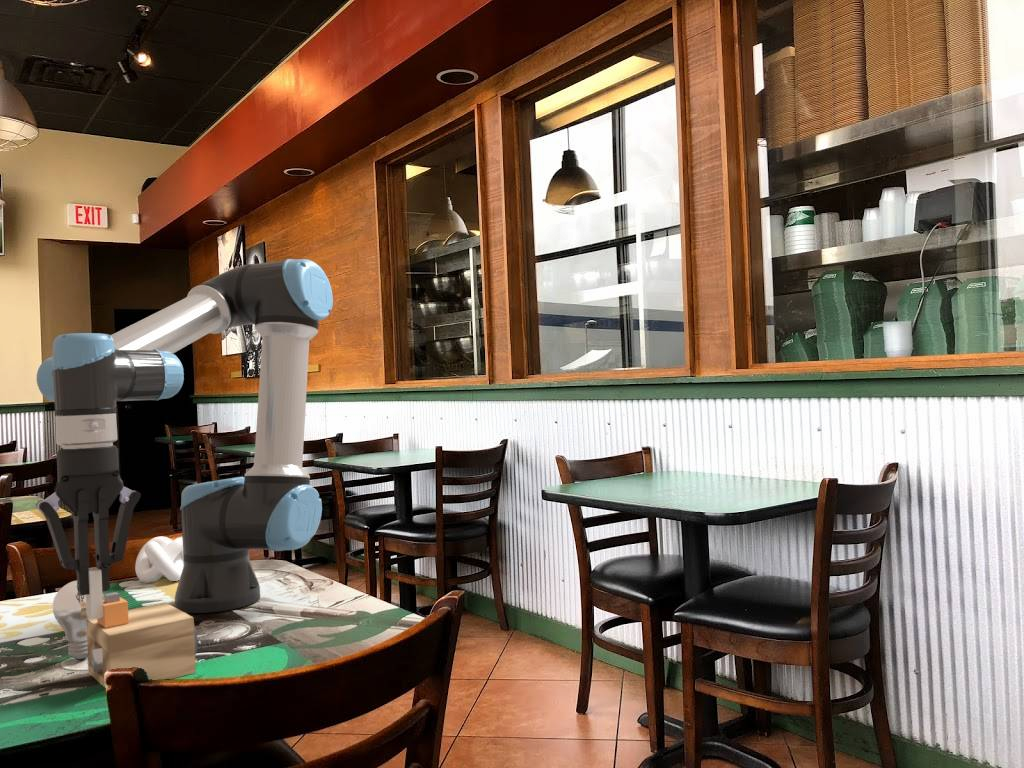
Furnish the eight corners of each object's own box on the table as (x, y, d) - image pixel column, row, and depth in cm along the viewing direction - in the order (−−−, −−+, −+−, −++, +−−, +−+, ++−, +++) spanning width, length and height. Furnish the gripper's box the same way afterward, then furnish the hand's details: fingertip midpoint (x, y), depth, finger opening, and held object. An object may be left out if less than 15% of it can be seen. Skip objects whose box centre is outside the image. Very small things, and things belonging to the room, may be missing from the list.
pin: (89, 675, 113) (88, 638, 113) (185, 652, 122) (184, 617, 122) (99, 684, 109) (98, 646, 109) (198, 660, 118) (196, 624, 118)
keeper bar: (97, 622, 114) (96, 593, 114) (120, 617, 116) (119, 589, 116) (105, 627, 111) (104, 598, 111) (128, 623, 113) (127, 594, 113)
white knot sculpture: (120, 587, 169) (119, 544, 169) (155, 573, 181) (153, 533, 181) (170, 587, 167) (168, 543, 167) (202, 573, 179) (200, 533, 179)
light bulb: (67, 654, 125) (64, 576, 125) (114, 650, 126) (111, 573, 126) (45, 669, 118) (42, 587, 118) (95, 666, 119) (91, 584, 119)
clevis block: (88, 672, 116) (86, 618, 116) (167, 653, 124) (165, 602, 124) (111, 694, 107) (109, 635, 107) (195, 672, 114) (193, 617, 114)
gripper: (39, 450, 105) (47, 633, 105) (145, 442, 113) (152, 611, 113) (28, 448, 110) (35, 621, 110) (129, 441, 119) (136, 601, 119)
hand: (94, 616), depth 112 cm, fingers closed
